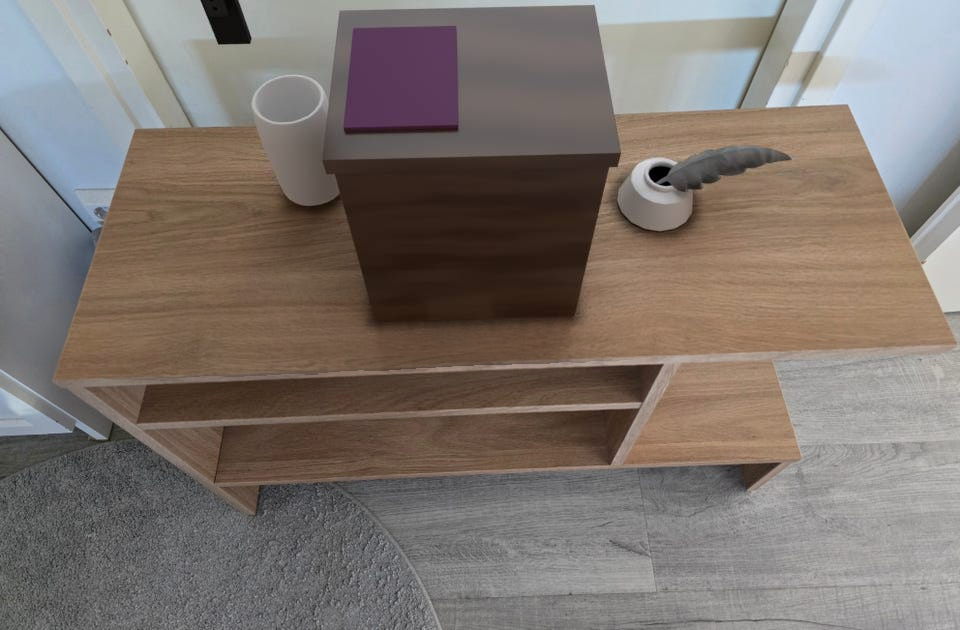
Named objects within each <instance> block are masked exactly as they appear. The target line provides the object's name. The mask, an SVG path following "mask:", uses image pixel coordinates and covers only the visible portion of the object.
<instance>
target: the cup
mask: <svg viewBox="0 0 960 630" xmlns="http://www.w3.org/2000/svg"><path fill="white" fill-rule="evenodd" d="M328 106H329V99H328V97H327V94H326V92H325V90H324V88H323V87H322V85H321V84H320V83H319V82H318V81H316V80H315V79H313V78H311V77H309V76H306V75H303V74H285V75H279V76H277V77H273V78H271V79H269V80H267V81H265V82H264V83H263V84H262V85H260V86H259V87H258V89H257V90H256V91H255V92H254V93H253V95H252V98H251V103H250V107H251V108H250V109H251V114H252V116H253V117H252V118H253V120H254V124H255V127H256V130H257V134H258V136H259V139H260V142H261V144H262V147H263V150H264V152H265V155H266V157H267V160H268V162H269V165H270V166H271V170H272V171H273V173H274V176H275V177H276V180H277V182H278V185H279V186H280V188H281V190H282V192H283V194H284V195H285V196H286V197H287V199H288V200H289V201H291V202H293V203H294V204H297V205H300V206H306V207H307V206H308V207H312V206H319V205H323V204H326V203H329V202H331V201H332V200H334V199H336V198H337V197H338V196H339V195H340V192H339V188H338V185H337V181H336V177H335V174H326V172H325V168H324V165H323V162H322V158H323V149H324V140H325V132H326V123H327V115H328Z"/></svg>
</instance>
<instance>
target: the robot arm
mask: <svg viewBox="0 0 960 630" xmlns="http://www.w3.org/2000/svg"><path fill="white" fill-rule="evenodd" d="M199 1H200V3H201V5H202V8H203V11H204V13H205V15H206V18H207V20H208V23H209V25H210V28H211V30H212V33H213V35H214V38H215V40H216V42H217V45H220V46H221V45H223V46H224V45H251V43H252V36H251V32H250V29H249V26H248V24H247V21H246V18H245V15H244V12H243V9H242V6H241V3H240V1H239V0H199Z"/></svg>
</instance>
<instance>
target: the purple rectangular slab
mask: <svg viewBox="0 0 960 630" xmlns="http://www.w3.org/2000/svg"><path fill="white" fill-rule="evenodd" d="M343 128H344V131H370V130H412V129H454V128H458V85H457V31H456V26H423V27H378V28H353V36H352V46H351V56H350V66H349V76H348V86H347V97H346V107H345V117H344V127H343Z"/></svg>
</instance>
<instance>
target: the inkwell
mask: <svg viewBox="0 0 960 630" xmlns="http://www.w3.org/2000/svg"><path fill="white" fill-rule="evenodd" d="M792 160H793V158H792V157H791V156H790V155H788V154H787V153H785V152H783V151H779V150H777V149H774V148H771V147H768V146H760V145H753V144H744V145H728V146H722V147H718V148H716V149H706V150H704V151H702V152H700V153H698V154H692V155H690V156H689V157H687V158H686V159H684V160H683V161H681V160H680V161H678V162H677V161H675V160H672V159H670V158H666V157H652V158H646V159H644V160H642V161H640V162H639V163H637V164H636V165H635V166H634V167H633V169H632V170H631V172H630V173H629V175H628V176H627V177H626V178H625V180H624V182H623V183H622V184H621V186H620V187H619V189H618V192H617V199H616V201H617V204H618V207H619V210H620V211H621V213H622V214H623V215H624V217H625V218H627V220H628V221H629V222H630V223H631V224H634V225H636V226H637V227H640V228H642V229H644V230H649V231H655V232H663V231H670V230H675V229H676V228H678V227H680V226H682V225H683V224H685V223H687V221H688V219H689V218H690V217H691V215H692V213H693V205H694V204H693V203H694V191H697V190H700V191H701V190H702V189H703V188H704V184H707V185H709V184H715V183H717V182H718V181H720V180H721V179H722V176H723V177H733V176H739V175H741V174H744V173H746V172H747V169H756V168H759V167H762V166H765V165H766V164H773V163H778V162H787V161H788V162H789V161H792Z"/></svg>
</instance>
